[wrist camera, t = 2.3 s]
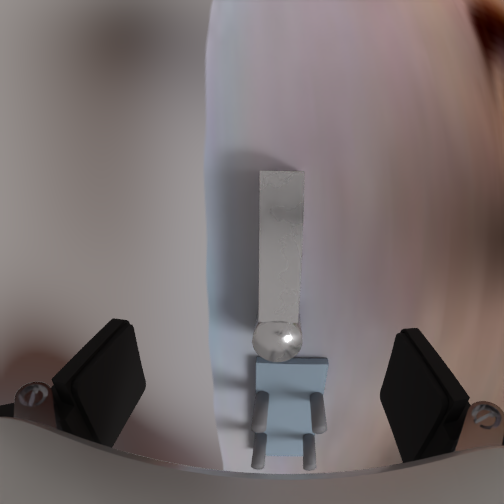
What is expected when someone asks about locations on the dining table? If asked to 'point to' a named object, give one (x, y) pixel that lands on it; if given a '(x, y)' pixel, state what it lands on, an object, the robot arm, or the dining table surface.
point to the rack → (288, 409)
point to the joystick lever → (279, 265)
